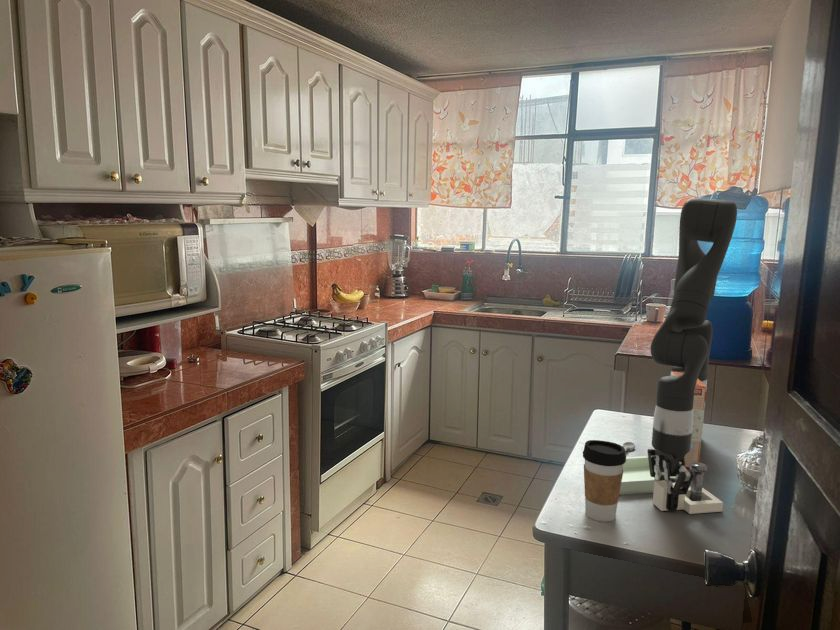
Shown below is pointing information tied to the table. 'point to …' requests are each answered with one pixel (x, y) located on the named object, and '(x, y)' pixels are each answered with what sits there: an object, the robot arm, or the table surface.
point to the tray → (637, 476)
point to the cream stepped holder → (686, 500)
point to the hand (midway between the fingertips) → (665, 504)
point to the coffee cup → (602, 478)
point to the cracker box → (696, 421)
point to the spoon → (628, 446)
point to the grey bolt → (697, 480)
